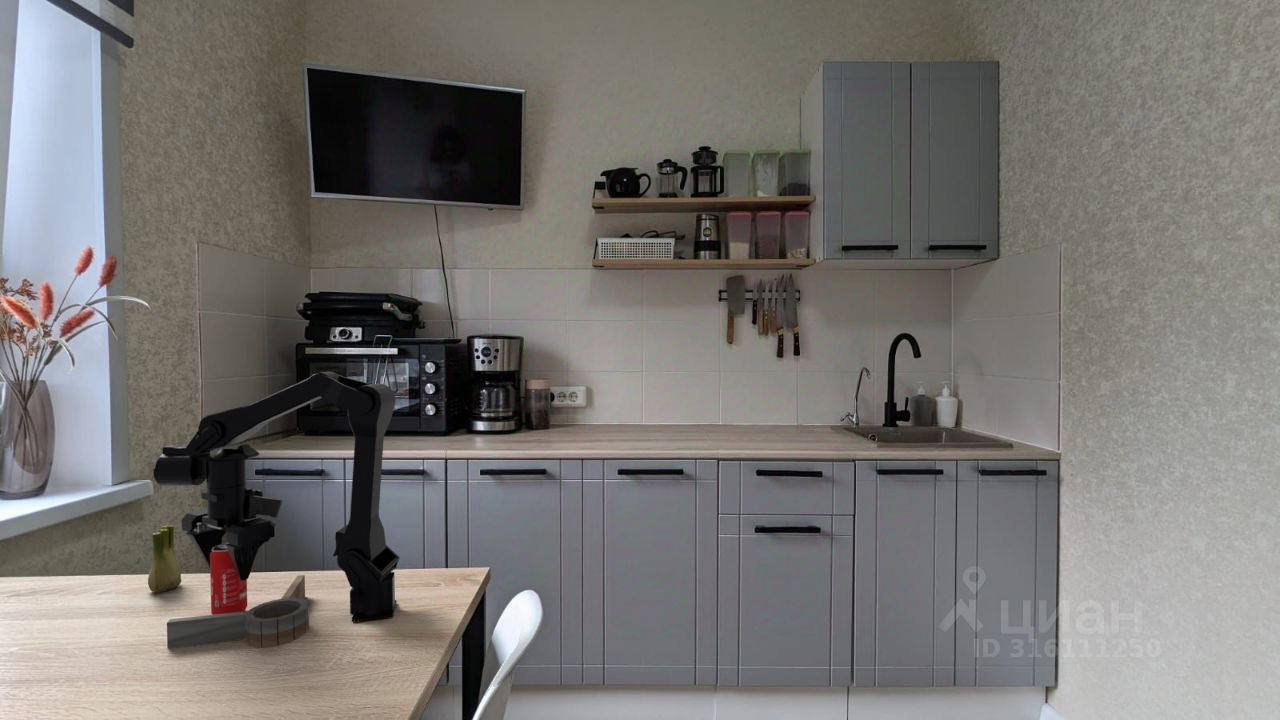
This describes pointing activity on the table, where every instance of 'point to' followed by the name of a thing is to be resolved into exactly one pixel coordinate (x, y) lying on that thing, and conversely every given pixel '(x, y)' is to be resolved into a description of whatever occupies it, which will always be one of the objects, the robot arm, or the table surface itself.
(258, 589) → the table surface
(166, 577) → the fennel bulb
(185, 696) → the table surface
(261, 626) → the grey ring bracket
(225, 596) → the beverage can
